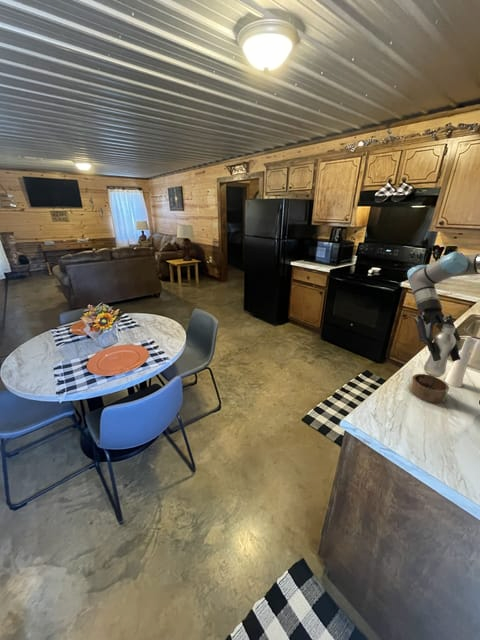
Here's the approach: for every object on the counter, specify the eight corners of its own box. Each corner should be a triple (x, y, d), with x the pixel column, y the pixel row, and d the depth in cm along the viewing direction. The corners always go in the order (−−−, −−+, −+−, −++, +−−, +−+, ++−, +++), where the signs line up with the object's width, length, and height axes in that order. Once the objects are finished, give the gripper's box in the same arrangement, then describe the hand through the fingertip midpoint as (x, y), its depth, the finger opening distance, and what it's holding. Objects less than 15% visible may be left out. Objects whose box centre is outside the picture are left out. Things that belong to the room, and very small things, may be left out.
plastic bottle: (418, 369, 103) (433, 323, 95) (434, 369, 103) (450, 322, 96) (430, 379, 97) (447, 330, 89) (447, 379, 97) (466, 330, 90)
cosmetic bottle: (442, 379, 114) (459, 334, 106) (460, 384, 112) (478, 337, 103) (444, 386, 110) (461, 339, 101) (462, 391, 107) (482, 343, 98)
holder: (444, 394, 104) (449, 381, 102) (442, 410, 96) (448, 395, 94) (410, 383, 111) (415, 370, 109) (406, 397, 103) (410, 383, 100)
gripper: (443, 306, 106) (464, 362, 97) (397, 306, 105) (414, 363, 96) (459, 298, 99) (482, 357, 91) (410, 298, 98) (428, 357, 89)
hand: (447, 360), depth 93 cm, fingers closed on plastic bottle, 6 cm apart
